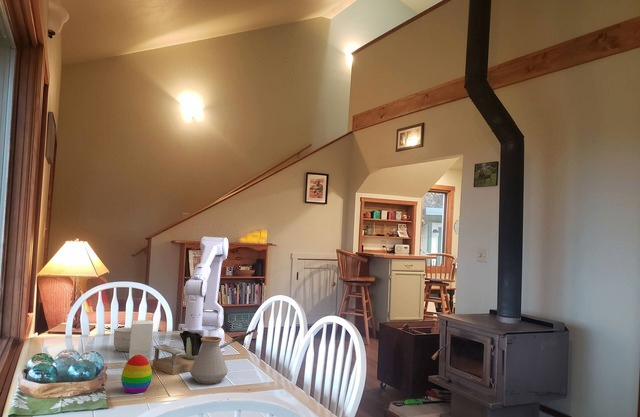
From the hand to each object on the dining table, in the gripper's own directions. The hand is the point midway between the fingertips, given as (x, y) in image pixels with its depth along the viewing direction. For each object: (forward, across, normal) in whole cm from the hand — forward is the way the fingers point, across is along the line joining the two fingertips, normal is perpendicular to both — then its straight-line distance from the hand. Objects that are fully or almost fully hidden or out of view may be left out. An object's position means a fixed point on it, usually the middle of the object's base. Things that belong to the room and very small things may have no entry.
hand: (191, 354), depth 168 cm
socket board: (+4, 0, -2) cm, 4 cm away
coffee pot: (+4, +19, -1) cm, 19 cm away
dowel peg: (+2, 0, 0) cm, 2 cm away
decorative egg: (+4, +12, -27) cm, 30 cm away
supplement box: (+4, -20, -8) cm, 22 cm away
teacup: (+4, -31, -5) cm, 31 cm away
